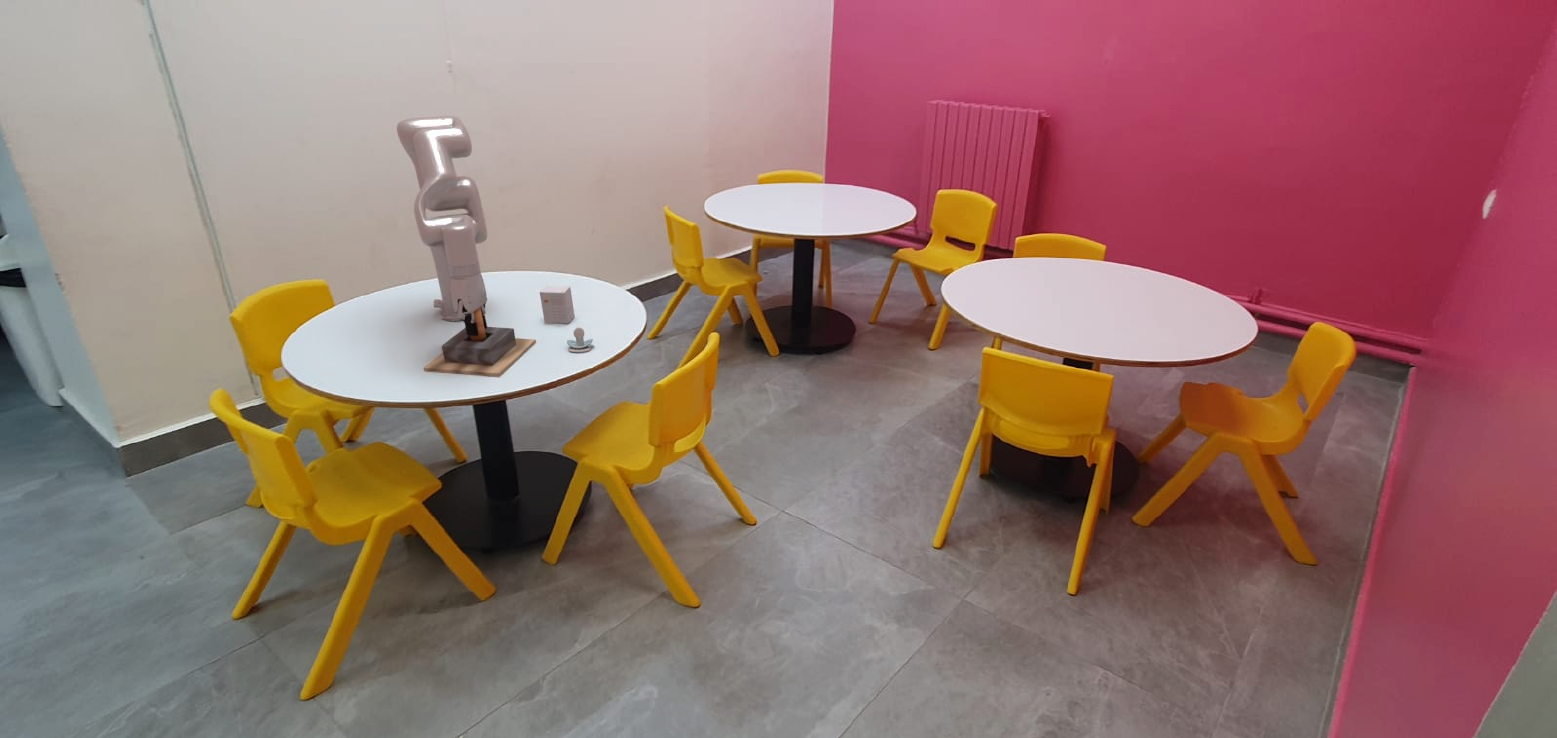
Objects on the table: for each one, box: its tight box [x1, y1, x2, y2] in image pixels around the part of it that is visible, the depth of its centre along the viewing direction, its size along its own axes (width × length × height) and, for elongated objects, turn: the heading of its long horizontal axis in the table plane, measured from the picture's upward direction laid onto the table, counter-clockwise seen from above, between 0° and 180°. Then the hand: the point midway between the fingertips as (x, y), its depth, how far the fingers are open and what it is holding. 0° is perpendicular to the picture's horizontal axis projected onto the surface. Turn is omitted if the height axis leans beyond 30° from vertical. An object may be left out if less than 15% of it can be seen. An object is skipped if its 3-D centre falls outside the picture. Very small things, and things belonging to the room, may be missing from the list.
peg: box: [466, 307, 487, 342], centre depth 205 cm, size 4×4×12 cm
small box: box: [539, 285, 576, 325], centre depth 230 cm, size 8×6×10 cm
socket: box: [423, 326, 537, 378], centre depth 208 cm, size 22×22×6 cm
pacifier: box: [566, 327, 594, 353], centre depth 213 cm, size 7×6×6 cm
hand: (477, 331), depth 206 cm, fingers closed on peg, 4 cm apart
